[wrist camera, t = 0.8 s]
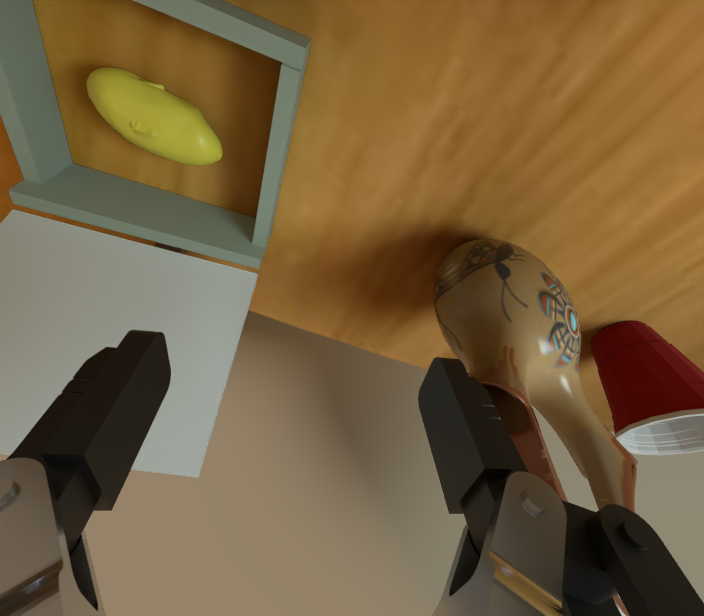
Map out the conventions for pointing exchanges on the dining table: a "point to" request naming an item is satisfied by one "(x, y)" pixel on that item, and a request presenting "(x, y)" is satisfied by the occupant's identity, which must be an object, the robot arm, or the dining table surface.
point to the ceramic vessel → (529, 362)
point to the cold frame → (122, 194)
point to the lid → (114, 328)
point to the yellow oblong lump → (153, 117)
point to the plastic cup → (650, 390)
